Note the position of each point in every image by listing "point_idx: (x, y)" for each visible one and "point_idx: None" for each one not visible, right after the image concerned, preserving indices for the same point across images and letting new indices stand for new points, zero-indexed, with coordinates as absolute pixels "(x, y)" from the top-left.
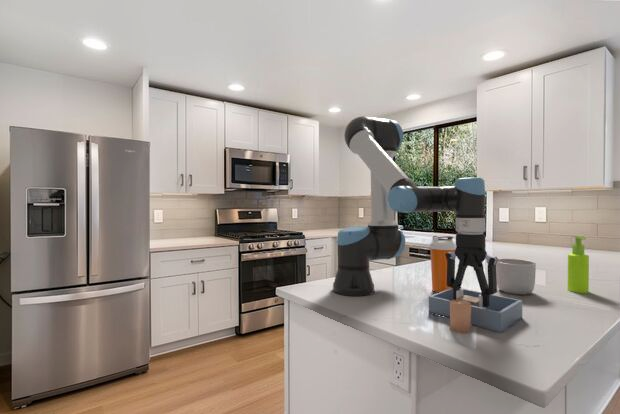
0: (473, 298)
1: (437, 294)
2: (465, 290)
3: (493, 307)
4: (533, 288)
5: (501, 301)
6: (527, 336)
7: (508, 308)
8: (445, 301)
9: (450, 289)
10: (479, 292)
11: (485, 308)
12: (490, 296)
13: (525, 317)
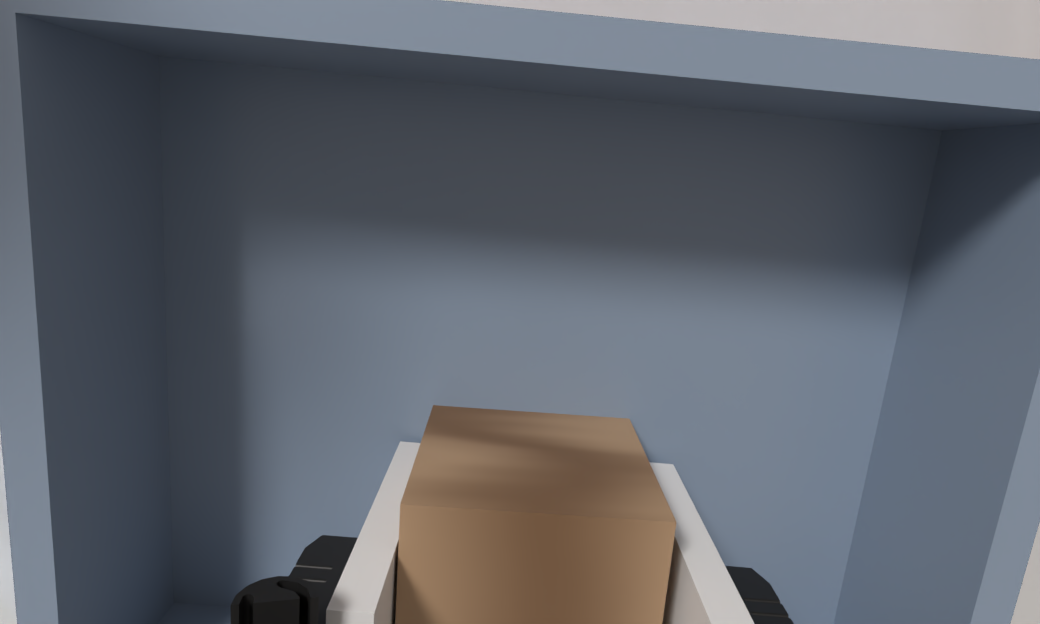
0: (564, 598)
1: (57, 620)
2: (227, 32)
3: (675, 100)
4: None
5: (821, 100)
6: (1030, 593)
7: (1008, 619)
8: None
9: (23, 198)
10: (482, 46)
11: (696, 522)
12: (669, 77)
13: (995, 40)
